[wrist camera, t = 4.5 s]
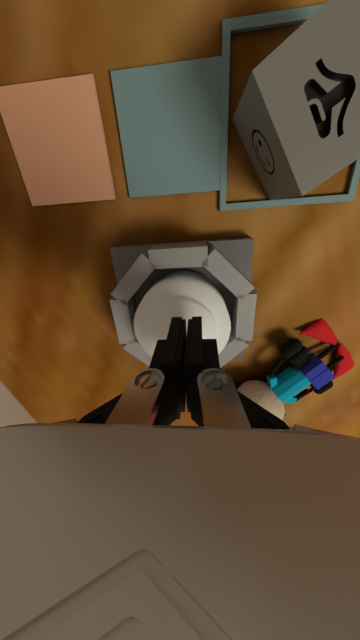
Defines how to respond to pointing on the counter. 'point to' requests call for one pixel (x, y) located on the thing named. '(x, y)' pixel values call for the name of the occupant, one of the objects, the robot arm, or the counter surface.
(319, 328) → the toy figure
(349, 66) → the dice cube
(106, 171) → the sorting mat
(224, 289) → the dome base
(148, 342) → the dome
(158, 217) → the counter surface
